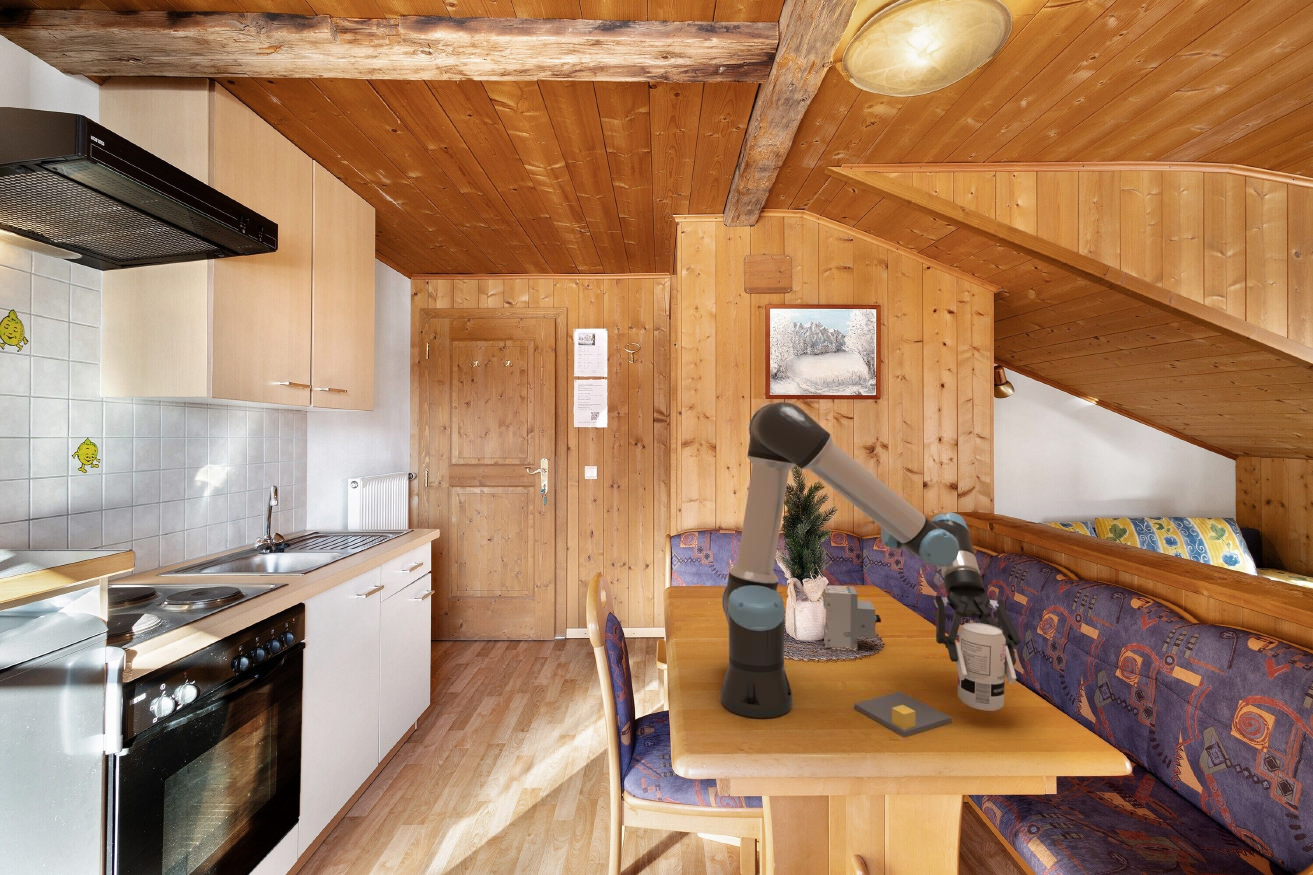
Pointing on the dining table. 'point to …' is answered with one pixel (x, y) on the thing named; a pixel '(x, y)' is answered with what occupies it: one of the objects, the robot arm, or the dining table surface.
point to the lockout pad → (902, 699)
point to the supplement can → (982, 666)
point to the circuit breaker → (847, 617)
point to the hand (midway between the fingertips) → (987, 678)
